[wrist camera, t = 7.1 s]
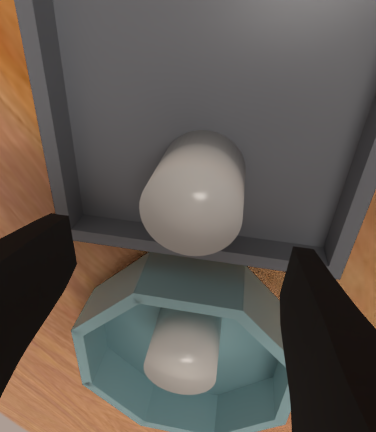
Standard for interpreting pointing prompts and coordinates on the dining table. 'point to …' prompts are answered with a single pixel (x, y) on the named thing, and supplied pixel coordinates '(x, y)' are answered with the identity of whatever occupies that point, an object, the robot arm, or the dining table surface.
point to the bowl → (228, 349)
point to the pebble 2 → (184, 351)
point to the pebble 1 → (196, 194)
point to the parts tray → (209, 113)
